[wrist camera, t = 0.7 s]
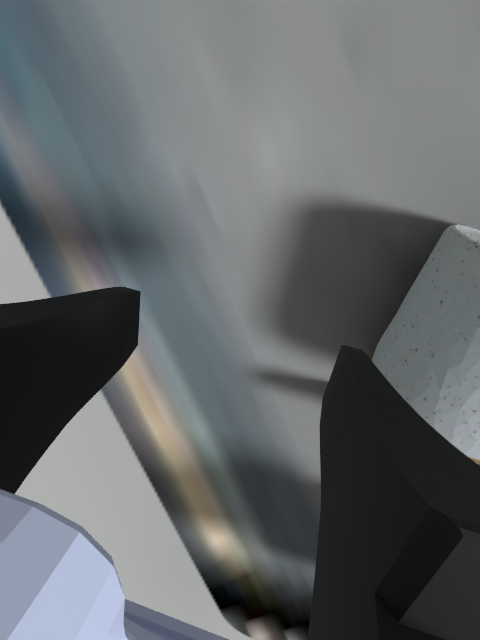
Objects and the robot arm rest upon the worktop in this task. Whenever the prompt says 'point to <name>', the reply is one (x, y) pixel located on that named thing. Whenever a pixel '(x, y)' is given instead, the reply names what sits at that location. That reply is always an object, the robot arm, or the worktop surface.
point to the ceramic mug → (441, 341)
